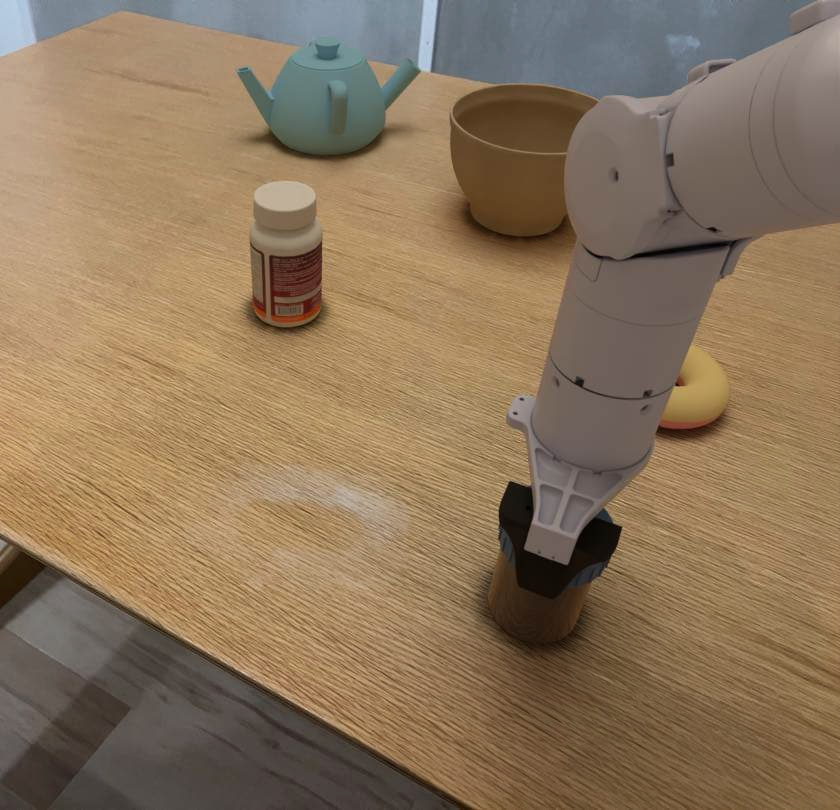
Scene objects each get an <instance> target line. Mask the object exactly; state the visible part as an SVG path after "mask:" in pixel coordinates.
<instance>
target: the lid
mask: <svg viewBox="0 0 840 810" xmlns="http://www.w3.org/2000/svg"><path fill="white" fill-rule="evenodd" d="M526 486H527V487H530V488H532V486H531V484H530V485H526ZM595 517H596V518H599V519H602V520H605V521H608V522H610V523H613V524H615V522H614V520H613V518H612V517H611V515H610V513H609V512H608V511H607V509H606V507H604V508H603V509H602V510H601V511H600V512H599V513H598V514H597V515H596V516H595ZM497 530H499V531H498V535H497V541H498V542H499V545H500V546H501V551H503V553H504V555H505V557H506V558H507V560H508V562H510V563H511V564H512V566H513V567H514V568H515V557H514V549H513V545H512V543H511V540H510V538H509V536H508V534H507V533H506V532H505V530H504V529H503V528H502V527H501V525H500V524H499V523H498V527H497ZM500 546H499V547H500ZM611 559H612V556H611V557H610V558H609V559H608V560H607V561H606V562H602V563H598V564H594V565H591V566H589V567H587V568H585V569H584V570H582V571H581V572H580V573H578V574H577V575H576V576H575V577H574V579H573V580H572V581H571V582H570V583H569V585H568V586H567V587H566V588H570V587H578V586H582V585H584V584H587V583H591V581H592V582H593V581H595V580H596V579H597V578H601V576H602V573H603V572H604V570H605V569H607V568H608V566H609V564H610V562H611Z"/></svg>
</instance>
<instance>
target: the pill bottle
mask: <svg viewBox="0 0 840 810" xmlns="http://www.w3.org/2000/svg"><path fill="white" fill-rule="evenodd" d="M252 198H253V199H252V203H253V204H252V205H253V207H252V210H253V211H252V213H253V218H254V220H253V221H252V223H251V224H250V227H249V232H248V233H249V237H248V238H249V253H250V272H251V274H250V275H251V290H252V291H251V292H252V293H251V294H252V307H253V311H254V313H255V315H256V316H257V317H258V319H260V320H261V321H262V322H264V323H266V324H268V325H270V326H273V327H278V328H294V327H300V326H302V325H306V324H308V323H310V322H311V321H313V320H314V319H315V318H316V317H318V316H319V314H320V312H321V310H322V309H321V308H322V302H323V300H322V299H323V298H322V297H323V293H322V292H323V290H322V288H323V239H324V238H323V227H322V225H321V223H320V221H319V220H318V219H317V212H318V210H317V194H316V191H315V190H314V189H313V188H312V187H311V186H309V185H308V184H306V183H304V182H299V181H294V180H278V181H277V180H276V181H272V182H267V183H265V184H263V185H261V186H259V187H258V188H256V190H255V191H254V193H253V197H252Z"/></svg>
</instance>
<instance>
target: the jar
mask: <svg viewBox="0 0 840 810" xmlns="http://www.w3.org/2000/svg"><path fill="white" fill-rule="evenodd" d="M491 577H492V578H491V581H490V585H489V589H488V594H487V604H488V608H489V611H490V613H491V615H492V617H493V619H494V620H495V622H496V623H497V624H498V625H499V627H500V628H502V629H503V630H504V631H505V632H506V633H507V634H509V635H511V636H513V637H515V638H516V639H517V640H520V641H524V642H527V643H530V644H531V643H532V644H544V645H545V644H552V643H555V642H557V641H561V640H562V639H564V638H566V637H567V636H568V635H569V634H571V632H572V631H573V630H574V628H575V626H576V624H577V621H578V619H579V616H580V614H581V611H582V609H583V607H584V604H585V602H586V599H587V596H588V594H589V591H590V590H591V589H590V588H591V587H592V583H593V581H591V583H587V584H584V585H582V586H578V587H570V588H565V589H564V590H563V591H562V593H561V594H560V595H558V596H557V597H556V598H555V599H552V600H551V599H548V598H546V597H543V596H541V595H538V594H535V593H533V592H530V591H528V590H525V589H522V588H520V587H519V586H518V584H517V579H516V572H515V568H514V567H513V566H512V564H511V563H510V562H508V560H507V558H506V557H505V555H504V553H503V551H501V546H499V550H498V555H497V558H496V562H495V566H494V570H493V572H492V576H491Z"/></svg>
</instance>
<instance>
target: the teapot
mask: <svg viewBox="0 0 840 810" xmlns="http://www.w3.org/2000/svg"><path fill="white" fill-rule="evenodd" d="M235 72H236V74H237V75H238V77H239V79H240V81H241V82H242V84H243V86H244V87H245V89H246V91H247V93H248V94H249V96H250V98H251V100H252V101H253V103H254V105H255V107H256V108H257V110H258V111H259V113H260V115H261V117H262V118H263V120H264V122H265V123H266V125H267V126H268V128H269V130H270V131H271V132H272V134H273V135H274V136H275V137H276V138H277V140H279V141H280V143H282V144H283V145H284V146H285V147H287V148H288V149H291V150H293V151H296V152H299V153H303V154H307V155H315V156H337V155H344V154H350V153H353V152H357V151H360V150H361V149H364V148H365V147H367V146H368V145H370V143H372V142H373V141H374V140H375V139H376V138H377V137H378V136H379V135H380V133H381V132H382V131H383V129H384V128H385V124H386V120H387V119H386V117H387V113H386V111H388V109H389V108H390V107H391V106H392V104H393V103H394V102H395V101H396V100H397V99H398V98H399V97H400V96H401V95H402V94H403V92H404V91H405V90H406V89H407V88H408V87H409V86H410V84H411V83H412V82H414V80H415V79H416V78H417V77H418V76H419V75H420V73H422V69H421V68H420V67H419V66H418V64H416V63H415V62H414V61H413V60H412V59H411V58H409V57H405V59H404V60H403V61H402V63H401V64H399V66H398V68H396V70H395V71H394V72H393V74H392V75H391V76H390V77H389V78H388V79H387V81H386V82H385V83H384V84H383V85H382V87H381V85H380V82H379V81H378V78H377V76H376V74H375V72H374V70H373V68H372V66H371V64H370V63H369V61H368V60H367V59H366V57H365V55H364V54H363V53H362V52H360V51H359V50H358V49H356V48H353V47H350V46H346V45H343V44H341V40H340V39H338V38H336V37H332V36H323V37H319V38H317V39H314V40H312V41H310V42H309V45H307V46H303V47H300V48H298V49H295V50H294V51H293V52H292V53H291V54H290V55H289V56H288V58H287V60H286V61H285V63H284V64H283V66H282V68H281V69H280V71H279V72H278V75H277V76H276V78H275V81H274V83H273V84H272V86H271V89H266V87H265V86H264V85H263V84H262V82H261V81H260V80H259V79H258V77H257V76H256V75H255V73H254V71H253V70H252V68H251V65H247V66H242V67H236V68H235Z"/></svg>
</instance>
